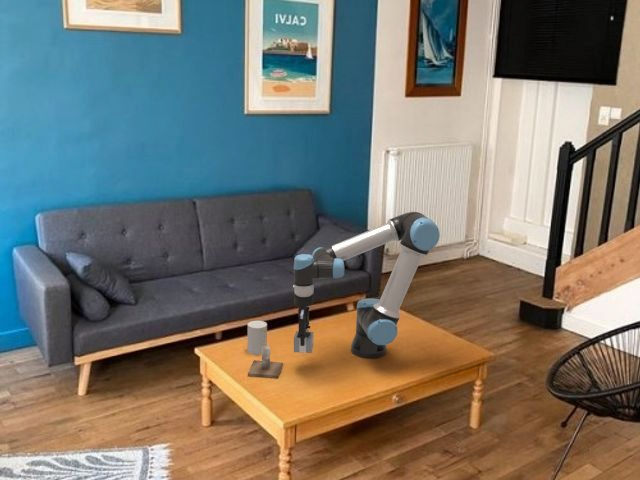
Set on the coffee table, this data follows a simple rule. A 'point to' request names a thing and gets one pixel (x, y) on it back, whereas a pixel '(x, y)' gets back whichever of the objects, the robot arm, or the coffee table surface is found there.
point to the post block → (265, 366)
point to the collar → (308, 342)
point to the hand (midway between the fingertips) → (304, 348)
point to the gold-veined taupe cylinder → (256, 337)
